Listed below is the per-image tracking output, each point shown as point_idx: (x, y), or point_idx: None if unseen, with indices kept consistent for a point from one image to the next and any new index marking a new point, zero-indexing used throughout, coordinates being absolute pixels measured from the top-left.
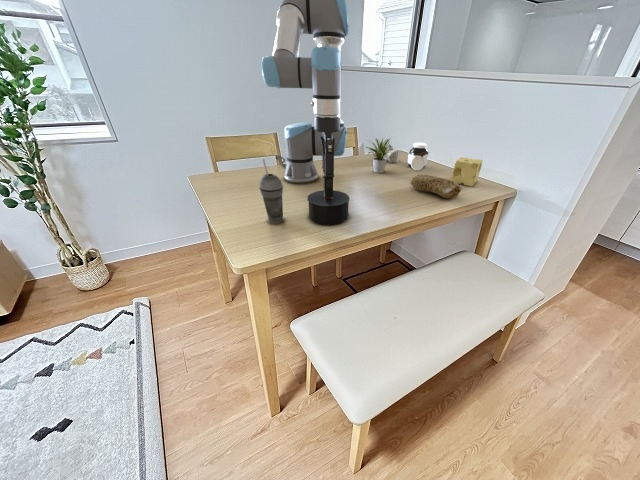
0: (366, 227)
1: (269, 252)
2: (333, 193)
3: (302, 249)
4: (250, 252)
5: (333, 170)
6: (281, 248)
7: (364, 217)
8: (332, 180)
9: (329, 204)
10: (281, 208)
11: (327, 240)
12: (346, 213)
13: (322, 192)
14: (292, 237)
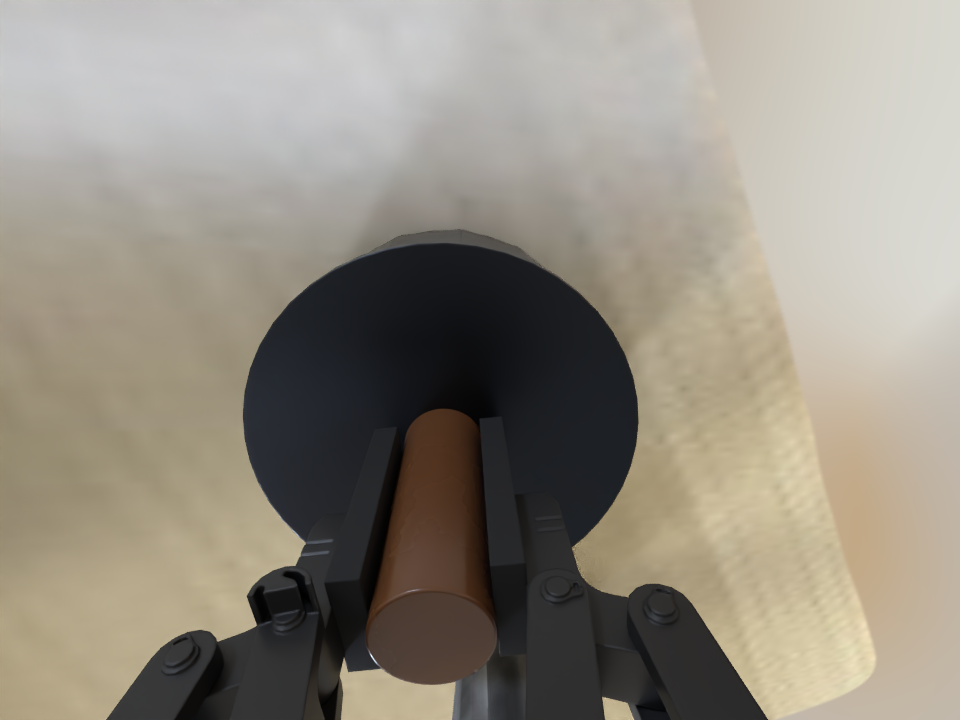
0: (647, 91)
1: (804, 610)
2: (334, 398)
3: (822, 492)
4: (782, 667)
5: (754, 703)
6: (785, 574)
7: (465, 82)
8: (518, 535)
9: (602, 434)
10: (524, 676)
11: (767, 378)
12: (527, 257)
13: (318, 490)
14: (692, 543)
